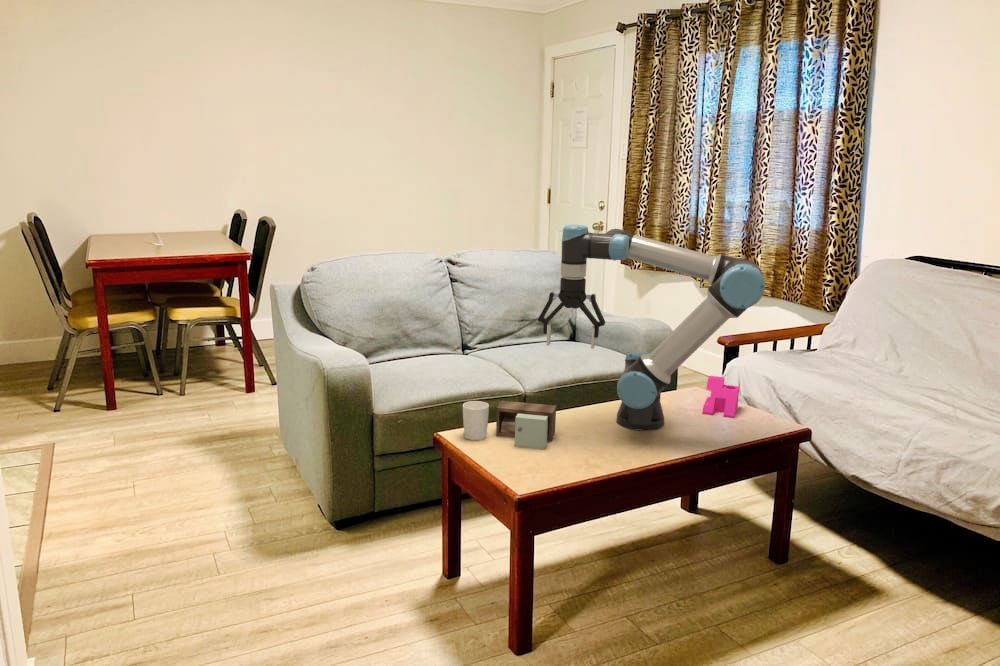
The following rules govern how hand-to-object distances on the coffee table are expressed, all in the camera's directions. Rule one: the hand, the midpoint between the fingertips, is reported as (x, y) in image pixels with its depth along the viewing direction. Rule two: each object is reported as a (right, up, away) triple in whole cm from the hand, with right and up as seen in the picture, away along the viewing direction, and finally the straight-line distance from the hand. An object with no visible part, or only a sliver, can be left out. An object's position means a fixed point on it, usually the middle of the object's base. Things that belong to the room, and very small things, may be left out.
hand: (570, 346), depth 233 cm
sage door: (-12, -29, -8) cm, 33 cm away
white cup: (-29, -27, -1) cm, 40 cm away
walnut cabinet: (-14, -27, -1) cm, 31 cm away
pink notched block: (+53, -23, +26) cm, 63 cm away
